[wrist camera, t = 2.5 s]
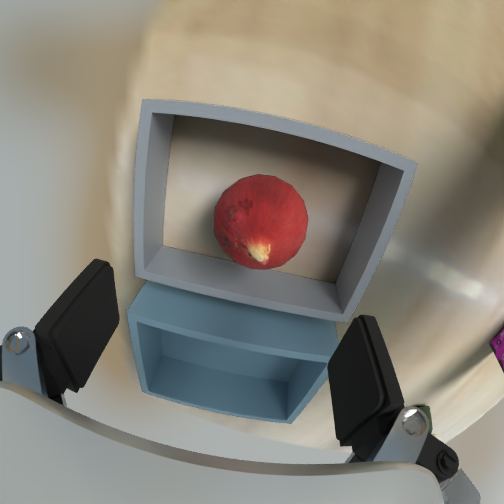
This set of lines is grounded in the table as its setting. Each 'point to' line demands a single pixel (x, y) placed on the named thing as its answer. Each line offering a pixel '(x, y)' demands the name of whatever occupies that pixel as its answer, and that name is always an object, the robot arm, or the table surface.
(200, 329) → the blue bin
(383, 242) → the grey crate
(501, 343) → the candy bar box
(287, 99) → the table surface
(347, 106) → the table surface
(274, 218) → the onion
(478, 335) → the table surface
